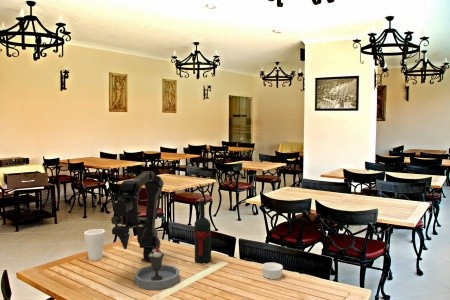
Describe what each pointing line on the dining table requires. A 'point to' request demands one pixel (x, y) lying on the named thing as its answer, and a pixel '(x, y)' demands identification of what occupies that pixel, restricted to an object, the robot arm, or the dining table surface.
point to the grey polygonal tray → (169, 280)
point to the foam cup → (94, 243)
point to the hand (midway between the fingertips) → (132, 245)
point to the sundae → (156, 262)
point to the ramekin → (272, 270)
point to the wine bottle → (202, 237)
